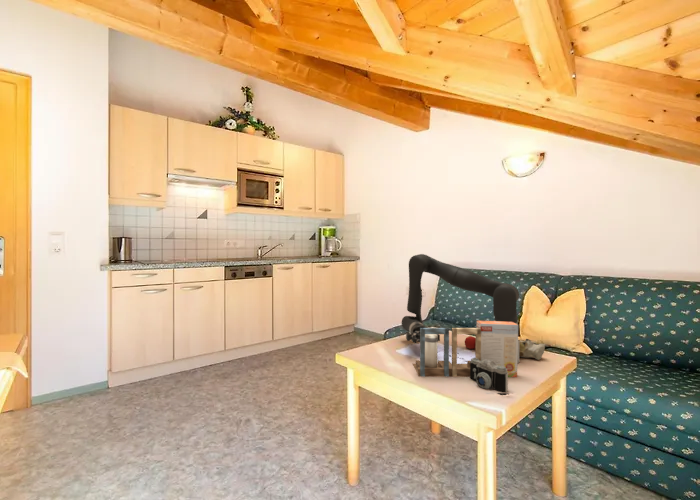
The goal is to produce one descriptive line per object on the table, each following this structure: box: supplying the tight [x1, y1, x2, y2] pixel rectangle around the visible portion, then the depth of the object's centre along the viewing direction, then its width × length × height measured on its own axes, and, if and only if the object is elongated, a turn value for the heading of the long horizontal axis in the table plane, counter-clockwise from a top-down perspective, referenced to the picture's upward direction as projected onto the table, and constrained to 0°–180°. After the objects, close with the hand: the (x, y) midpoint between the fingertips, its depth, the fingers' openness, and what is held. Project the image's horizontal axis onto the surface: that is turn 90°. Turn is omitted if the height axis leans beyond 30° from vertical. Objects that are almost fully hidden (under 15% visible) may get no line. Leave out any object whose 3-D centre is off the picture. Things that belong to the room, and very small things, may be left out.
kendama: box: [464, 335, 476, 350], centre depth 165 cm, size 8×6×18 cm
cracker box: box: [476, 320, 519, 378], centre depth 131 cm, size 14×6×21 cm, turn 85°
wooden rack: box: [412, 327, 481, 378], centre depth 135 cm, size 24×14×19 cm, turn 90°
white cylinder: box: [425, 334, 439, 368], centre depth 134 cm, size 5×5×14 cm
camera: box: [469, 357, 509, 396], centre depth 120 cm, size 15×7×10 cm, turn 30°
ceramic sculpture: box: [519, 338, 546, 361], centre depth 153 cm, size 11×9×15 cm
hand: (426, 341), depth 143 cm, fingers open, 8 cm apart
